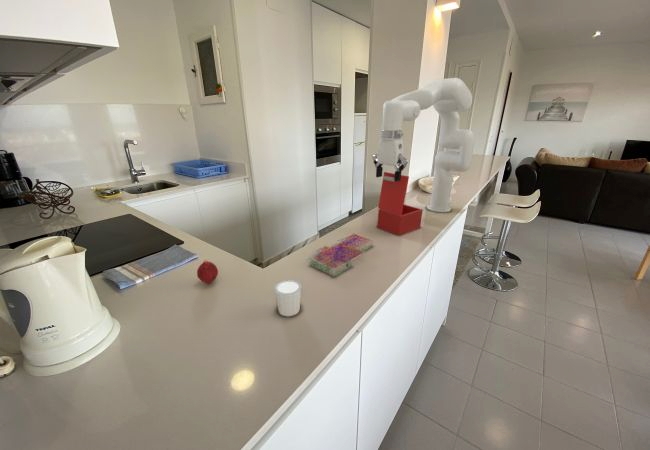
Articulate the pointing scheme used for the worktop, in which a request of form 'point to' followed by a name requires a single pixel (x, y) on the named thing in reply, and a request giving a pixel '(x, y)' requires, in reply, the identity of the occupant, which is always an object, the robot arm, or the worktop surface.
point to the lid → (393, 193)
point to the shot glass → (288, 297)
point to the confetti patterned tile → (346, 250)
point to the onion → (207, 271)
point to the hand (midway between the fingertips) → (387, 178)
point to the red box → (400, 220)
